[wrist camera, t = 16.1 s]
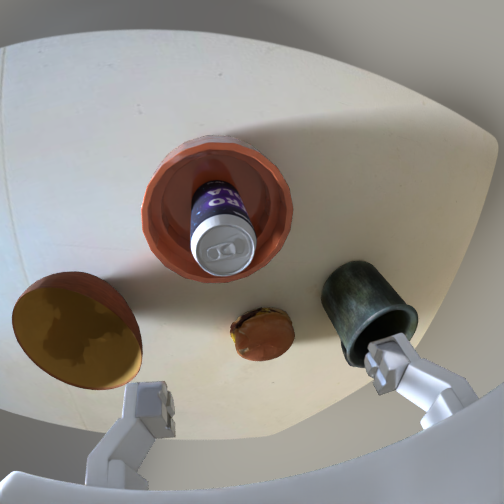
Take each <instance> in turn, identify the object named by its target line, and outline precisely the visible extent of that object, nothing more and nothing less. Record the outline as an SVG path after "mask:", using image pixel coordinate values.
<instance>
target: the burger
mask: <svg viewBox="0 0 504 504" xmlns="http://www.w3.org/2000/svg"><path fill="white" fill-rule="evenodd" d="M230 328H231V330H230V334H231V337H232V339H233V341H234V343H235V347H236V350H237V353H238V354H239V355H240V356H241V357H243V358H245V359H248V360H252V361H265V360H271V359H274V358H277V357H279V356H281V355H282V354H283V353H285V352H286V351H287V350H288V349H289V348H290V346H291V345H292V343H293V341H294V338H295V333H294V329H293V326H292V322H291V320H290V318H289V316H288V314H287V313H286V312H284V311H282V310H279V309H275V308H262V307H261V308H258V309H255V310H252V311H249V312H247V313H245V314H244V315H242V316H240V317H238V319H237V320H236V321H235V322H233V323H232V324H231V327H230Z"/></svg>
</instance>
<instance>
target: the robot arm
mask: <svg viewBox="0 0 504 504" xmlns="http://www.w3.org/2000/svg"><path fill="white" fill-rule="evenodd" d="M368 350H369V352H368V353H367V354H366V355H365V359H364V364H365V369H366V372H367V374H368V376H370V377H372V378H374V380H373V385H374V387H375V389H376V391H377V393H378V395H382V394H385V393H388V392H391V391H394V390H396V391H397V392H399V393H400V394H401V395H403V396H404V397H406V398H407V399H409V400H410V401H412V402H413V403H415V404H416V405H417V406H419V407H421V408H422V409H423V410H425V411H426V412H427V413H426V414H425V415H424V417H423V418H422V419H421V422H420V423H421V425H422V427H423V429H424V430H422V431H420V432H419V433H416V434H414V435H412V436H410V437H407V438H405V439H403V440H401V441H398V442H396V443H394V444H391V445H389V446H386V447H384V448H382V449H379V450H376V451H374V452H371V453H368V454H366V455H363V456H360V457H357V458H354V459H351V460H348V461H345V462H342V463H339V464H335V465H332V466H329V467H326V468H322V469H318V470H315V471H311V472H307V473H303V474H299V475H295V476H290V477H285V478H280V479H276V480H270V481H265V482H259V483H253V484H246V485H239V486H232V487H222V488H212V489H198V490H177V491H176V490H174V491H150V490H148V481H147V480H146V479H145V478H143V477H142V476H141V475H139V474H138V473H137V470H138V469H139V467H140V465H141V464H142V462H143V460H144V459H145V457H146V455H147V454H148V452H149V450H150V448H151V447H152V445H153V443H154V442H155V439H157V438H171V437H176V435H175V422H174V420H173V418H172V417H173V415H174V414H175V406H174V400H173V397H172V394H171V392H169V391H167V384H166V382H165V381H157V382H137V383H127V385H126V387H125V396H124V404H123V414H122V418H118V420H117V421H116V422H115V423H114V425H113V426H112V427H111V428H110V430H109V431H108V432H107V433H106V435H105V436H104V437H103V438H102V440H101V441H100V442H99V443H98V444H97V446H96V447H95V448H94V450H93V451H92V452H91V453H90V454H89V456H88V459H87V467H86V479H85V485H80V484H73V483H68V482H62V481H57V480H52V479H48V478H43V477H38V476H35V475H31V474H27V473H24V472H19V471H14V472H12V473H10V474H9V475H8V476H7V477H6V478H5V479H4V480H2V481H1V483H0V504H504V382H503V383H502V384H500V385H499V386H497V387H496V388H495V389H493V390H492V391H490V392H489V393H487V394H486V395H484V396H483V397H481V398H478V397H477V395H476V394H475V392H474V390H473V389H472V387H471V386H470V385H469V383H468V382H467V381H466V379H465V378H464V377H462V376H460V375H457V374H455V373H453V372H451V371H449V370H447V369H445V368H443V367H441V366H439V365H437V364H435V363H433V362H431V361H429V360H427V359H425V358H423V359H421V358H420V356H419V355H418V354H417V352H416V350H415V349H414V348H413V346H412V345H411V343H410V342H409V341H408V339H407V338H406V336H405V335H404V334H403V333H398V334H396V335H393V336H388V337H385V338H382V339H379V340H376V341H373V342H370V343H369V345H368Z"/></svg>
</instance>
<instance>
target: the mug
mask: <svg viewBox="0 0 504 504" xmlns="http://www.w3.org/2000/svg"><path fill="white" fill-rule="evenodd" d="M321 301H322V305H323V308H324V309H325V311H326V313H327V315H328V317H329V318H330V320H331V322H332V324H333V326H334V328H335V329H336V331H337V333H338V335H339V337H340V339H341V346H342V350H343V354H344V357H345V359H346V361H347V362H348V364H349V365H350V366H353V367H359V368H365V364H364V359H365V355H366V354H367V353H368V352H369V350H368V345H369V343H370V342H373V341H376V340H379V339H382V338H385V337H388V336H393V335H396V334H398V333H403V334H404V335H405V336H406V338H407V339H408V341H410V340H411V338H412V337H413V335H414V333H415V331H416V328H417V325H418V314H417V312H416V310H415V309H414V308H413V307H412V306H410V305H407V304H406V303H405V302H404V300H403V299H402V298H401V297H400V296H399V295H398V293H397V292H396V291H395V290H394V289H393V288H392V286H391V285H390V284H389V283H388V282H387V281H386V279H385V278H384V277H383V276H382V275H381V274H380V273H379V272H378V270H377V269H376V268H375V267H374V266H373V265H372V264H370V263H367V262H362V261H357V262H351V263H348V264H345V265H343V266H341V267H340V268H338V269H337V270H336V271H335V272H334V273H333V274H332V275H331V276H330V277H329V278H328V280H327V281H326V283H325V285H324V288H323V291H322V295H321Z"/></svg>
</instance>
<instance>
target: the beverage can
mask: <svg viewBox="0 0 504 504" xmlns="http://www.w3.org/2000/svg"><path fill="white" fill-rule="evenodd" d="M256 245H257V236H256V233H255V230H254V228H253V225H252V223H251V221H250V218H249V216H248V213H247V211H246V209H245V206H244V204H243V202H242V199H241V197H240V195H239V192H238V191H237V189H236V188H235V187H234V186H233V185H231V184H230V183H228V182H225V181H221V180H213V181H209V182H206V183H204V184H202V185H201V186H200V187H199V188H198V189H197V190H196V191H195V193H194V195H193V197H192V201H191V228H190V248H191V252H192V255H193V257H194V258H195V260H196V261H197V262H198V263H199V265H200V266H201V267H202V268H203V269H204V270H205V271H206V272H208V273H210V274H213V275H216V276H231V275H235V274H237V273H239V272H241V271H243V270H244V269H245V268H246V267H247V266H248V265H249V264H250V262H251V261H252V259H253V257H254V253H255V249H256Z"/></svg>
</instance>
